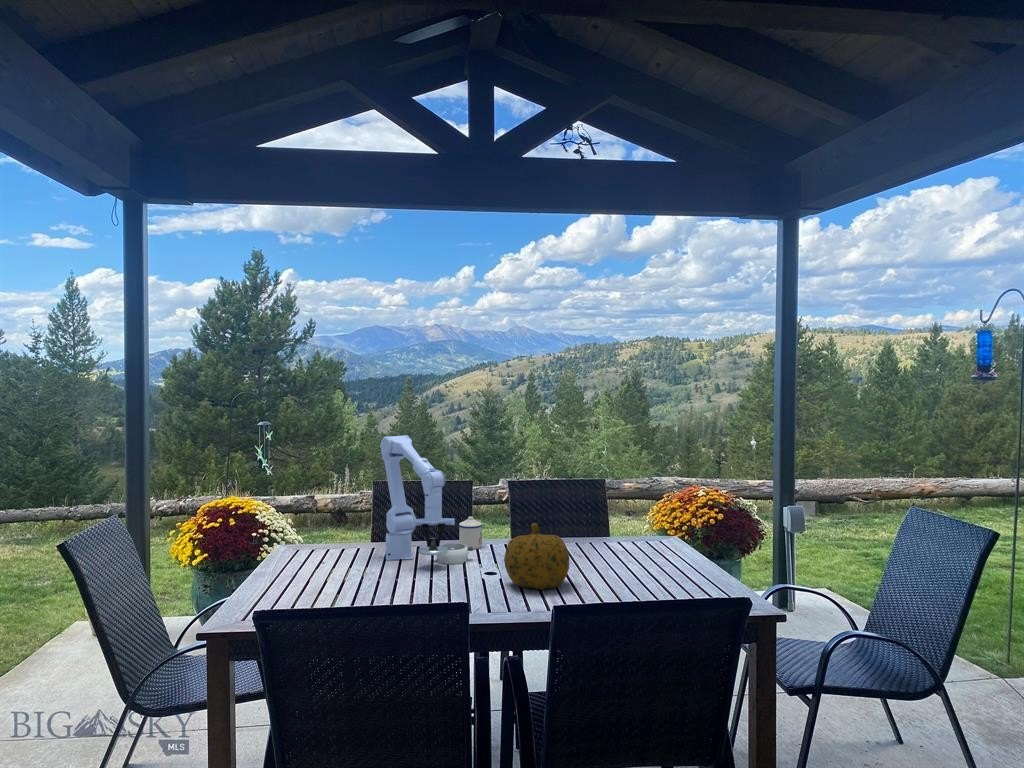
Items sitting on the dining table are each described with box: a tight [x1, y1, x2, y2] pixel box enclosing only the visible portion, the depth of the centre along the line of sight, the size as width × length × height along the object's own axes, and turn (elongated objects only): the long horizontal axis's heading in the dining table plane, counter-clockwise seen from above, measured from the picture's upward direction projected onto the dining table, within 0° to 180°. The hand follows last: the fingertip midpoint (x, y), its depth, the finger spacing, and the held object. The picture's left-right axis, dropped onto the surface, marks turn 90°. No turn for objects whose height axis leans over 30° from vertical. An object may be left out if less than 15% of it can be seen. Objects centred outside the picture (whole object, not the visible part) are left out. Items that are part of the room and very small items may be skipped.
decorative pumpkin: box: [503, 522, 570, 591], centre depth 229 cm, size 20×21×20 cm
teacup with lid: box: [458, 516, 483, 550], centre depth 282 cm, size 12×9×12 cm
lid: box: [418, 537, 448, 556], centre depth 250 cm, size 10×10×4 cm
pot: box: [436, 543, 474, 565], centre depth 260 cm, size 15×11×5 cm
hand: (433, 546), depth 251 cm, fingers closed on lid, 3 cm apart
